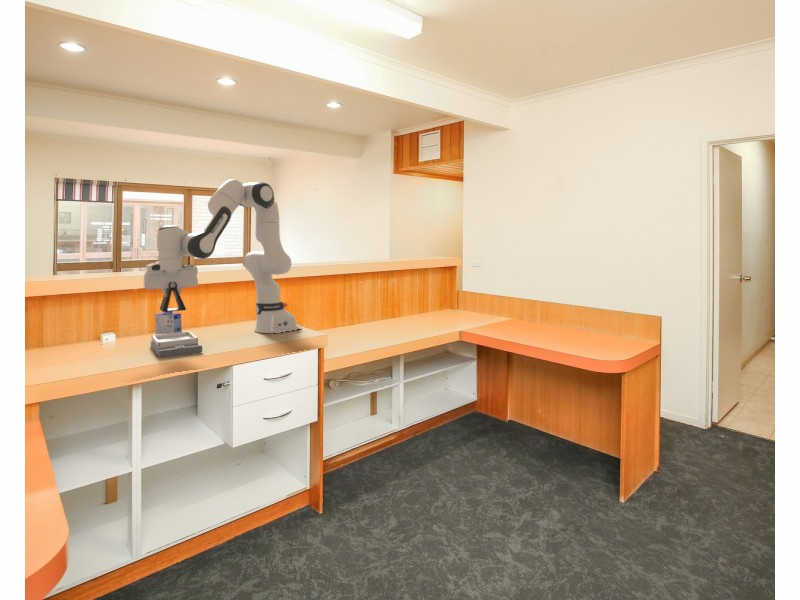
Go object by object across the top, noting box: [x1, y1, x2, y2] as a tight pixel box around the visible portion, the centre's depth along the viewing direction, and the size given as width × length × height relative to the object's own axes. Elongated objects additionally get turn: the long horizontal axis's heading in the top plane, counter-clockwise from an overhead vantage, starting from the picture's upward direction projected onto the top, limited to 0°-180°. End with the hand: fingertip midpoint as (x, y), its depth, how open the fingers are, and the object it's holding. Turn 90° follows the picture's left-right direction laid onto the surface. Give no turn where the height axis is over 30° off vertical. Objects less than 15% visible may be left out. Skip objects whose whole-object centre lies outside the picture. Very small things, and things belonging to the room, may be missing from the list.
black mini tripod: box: [159, 282, 187, 313], centre depth 202 cm, size 9×6×12 cm, turn 125°
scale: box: [150, 330, 203, 359], centre depth 203 cm, size 16×20×5 cm
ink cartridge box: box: [154, 311, 183, 335], centre depth 220 cm, size 10×6×14 cm, turn 79°
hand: (172, 298), depth 202 cm, fingers closed on black mini tripod, 2 cm apart
